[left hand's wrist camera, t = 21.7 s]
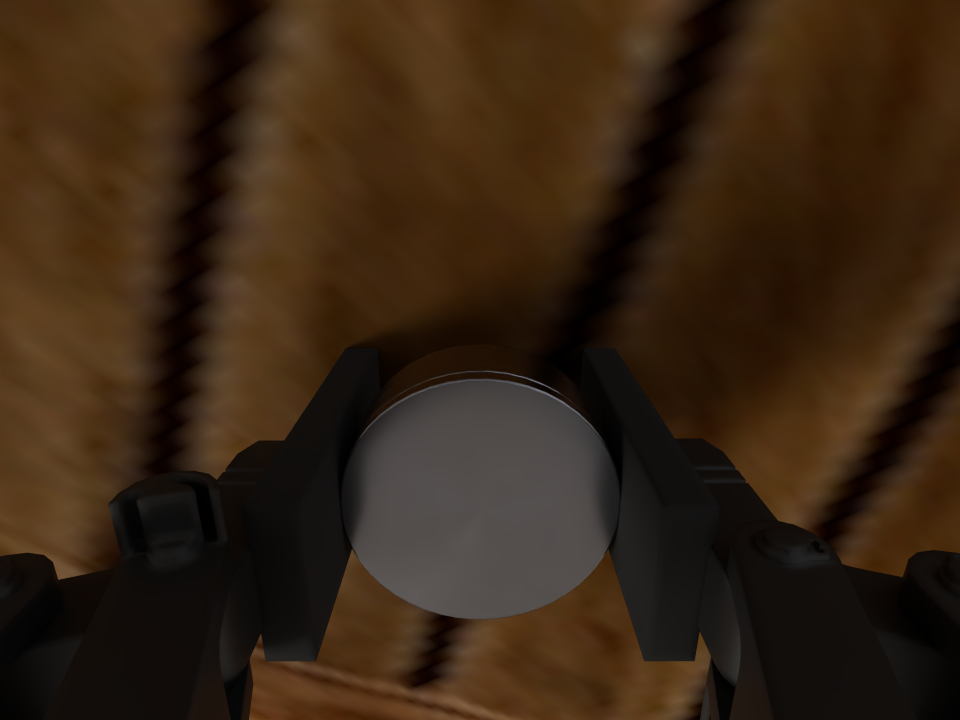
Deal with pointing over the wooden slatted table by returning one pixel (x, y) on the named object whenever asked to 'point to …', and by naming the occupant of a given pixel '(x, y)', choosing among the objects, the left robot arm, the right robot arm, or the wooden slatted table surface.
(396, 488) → the lid
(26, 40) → the wooden slatted table surface
